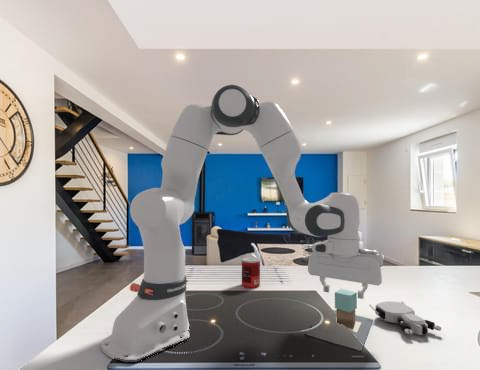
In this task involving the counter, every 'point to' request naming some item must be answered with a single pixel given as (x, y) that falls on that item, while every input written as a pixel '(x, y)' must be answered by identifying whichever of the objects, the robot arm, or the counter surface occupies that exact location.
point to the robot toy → (404, 317)
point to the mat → (361, 327)
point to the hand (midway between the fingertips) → (343, 294)
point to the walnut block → (345, 318)
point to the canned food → (250, 272)
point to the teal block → (346, 300)
